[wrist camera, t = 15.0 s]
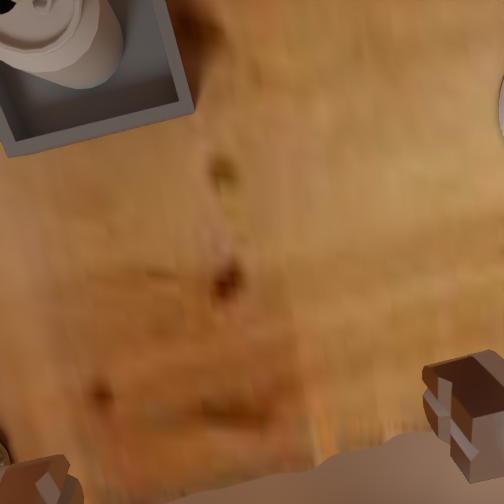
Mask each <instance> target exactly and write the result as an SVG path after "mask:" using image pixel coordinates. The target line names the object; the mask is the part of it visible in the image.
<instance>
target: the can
mask: <svg viewBox="0 0 504 504" xmlns="http://www.w3.org/2000/svg"><path fill="white" fill-rule="evenodd" d="M123 45H124V41H123V35H122V30H121V26H120V23H119V21H118V19H117V17H116V15H115V13H114V11H113V9H112V7H111V6H110V4H109V2H108V1H107V0H0V60H2V61H3V62H5V63H7V64H9V65H10V66H12V67H14V68H17V69H19V70H22V71H24V72H27V73H30V74H32V75H35V76H38V77H40V78H43V79H46V80H48V81H51V82H53V83H56V84H59V85H61V86H65V87H70V88H74V89H86V88H93V87H95V86H98V85H100V84H102V83H104V82H106V81H107V80H108V79H109V78H110V77H111V76H112V75H113V74H114V73H115V72H116V70H117V68H118V66H119V63H120V61H121V59H122V53H123Z"/></svg>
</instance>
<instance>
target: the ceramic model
mask: <svg viewBox="0 0 504 504" xmlns="http://www.w3.org/2000/svg"><path fill="white" fill-rule="evenodd" d="M8 465H10V459H9V455H8V453H7V451H6V449H5V448H4V446H3V445H2V444H1V443H0V467H3V466H8Z"/></svg>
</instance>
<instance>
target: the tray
mask: <svg viewBox="0 0 504 504" xmlns="http://www.w3.org/2000/svg"><path fill="white" fill-rule="evenodd" d="M107 1H108V2H109V4H110V6H111V7H112V9H113V11H114V13H115V15H116V17H117V19H118V21H119V23H120V26H121V30H122V35H123V41H124V45H123V53H122V59H121V61H120V63H119V66H118V68H117V70H116V72H115V73H114V74H113V75H112V76H111V77H110V78H109V79H108V80H107V81H106V82H104V83H102V84H100V85H98V86H95V87H93V88H86V89H74V88H70V87H65V86H61V85H59V84H56V83H53V82H51V81H48V80H46V79H43V78H40V77H38V76H35V75H32V74H30V73H27V72H24V71H22V70H19V69H17V68H14V67H12V66H10V65H9V64H7V63H5V62H3V61H2V60H0V140H1V143H2V145H3V147H4V150H5V152H6V154H7V156H8V158H12V157H18V156H25V155H30V154H34V153H38V152H42V151H46V150H50V149H54V148H58V147H62V146H66V145H70V144H74V143H78V142H82V141H86V140H90V139H94V138H98V137H102V136H106V135H110V134H114V133H118V132H122V131H126V130H130V129H134V128H138V127H142V126H146V125H150V124H154V123H158V122H162V121H166V120H170V119H174V118H178V117H182V116H185V115H189V114H193V113H194V112H195V109H194V105H193V101H192V98H191V94H190V90H189V87H188V83H187V79H186V75H185V72H184V68H183V64H182V61H181V57H180V53H179V50H178V46H177V42H176V39H175V35H174V31H173V28H172V24H171V20H170V16H169V13H168V9H167V5H166V2H165V0H107Z"/></svg>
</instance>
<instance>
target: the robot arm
mask: <svg viewBox="0 0 504 504" xmlns="http://www.w3.org/2000/svg"><path fill="white" fill-rule="evenodd" d="M499 122H500V127H501V131H502V134H503V137H504V80H503V83H502V87H501V91H500V97H499ZM422 380H423V381H424V383H425V384H426V386H427V387H428V388H427V389H426V391H425V392H424V394H423V407H424V410H425V414H426V417H427V420H428V422H429V424H430V426H431V428H432V429H433V431H434V432H435V434H436V435H437V437H438V438H439V439H441V440H443V441H445V442H446V443H448V444H450V456H451V458H452V459H453V460H454V462H455V463H456V465H457V466H458V468H459V469H460V471H461V472H462V473H463V475H464V476H465V478H466V479H467V481H468V482H469V483H470V484H472V483H476V482H481V481H485V480H490V479H494V478H499V477H503V476H504V359H503V358H502V357H501V356H499V355H498V354H497V353H496V352H494V351H492V350H485V351H482V352H478V353H474V354H470V355H467V356H462V357H458V358H454V359H450V360H446V361H442V362H438V363H434V364H430V365H426V366H424V368H423V370H422ZM69 467H70V464H69V462H68V461H67V459H66V457H65V456H64V455H61V454H57V455H52V456H48V457H43V458H38V459H34V460H29V461H24V462H20V463H15V464H12V465H8V466H3V467H0V504H84V494H83V490H82V486H81V484H80V482H79V480H78V479H77V478H75V477H73V476H71V475H69V474H67V473H68V470H69Z"/></svg>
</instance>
